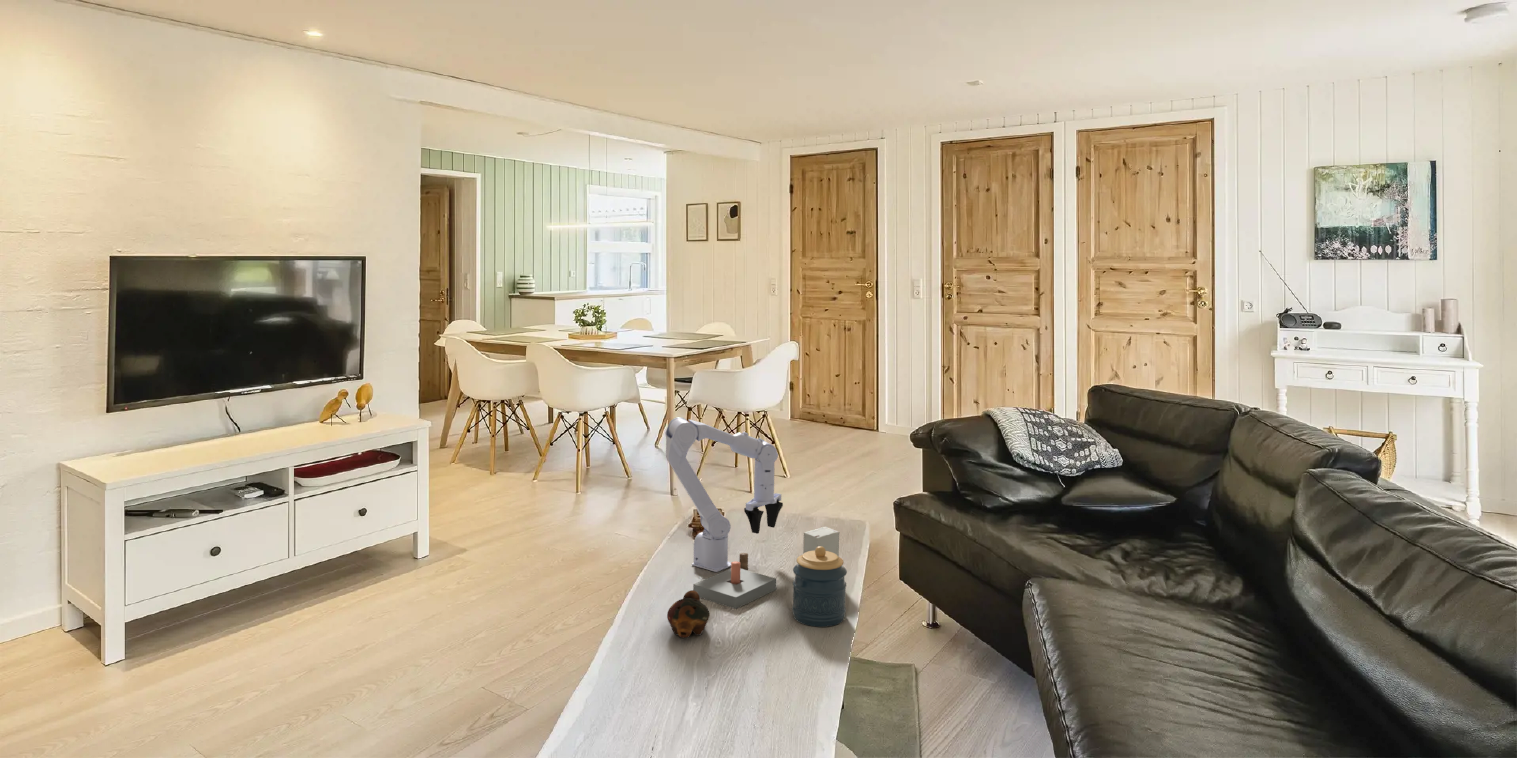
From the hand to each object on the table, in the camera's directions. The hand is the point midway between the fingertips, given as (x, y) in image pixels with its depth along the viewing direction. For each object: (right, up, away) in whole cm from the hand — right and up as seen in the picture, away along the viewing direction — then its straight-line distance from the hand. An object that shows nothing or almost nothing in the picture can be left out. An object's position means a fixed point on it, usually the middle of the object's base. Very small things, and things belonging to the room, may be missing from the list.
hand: (763, 529), depth 243 cm
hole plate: (-7, -12, -23) cm, 27 cm away
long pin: (-7, -12, -23) cm, 27 cm away
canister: (+13, -15, -38) cm, 43 cm away
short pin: (-6, -10, -6) cm, 13 cm away
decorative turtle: (-18, -15, -48) cm, 53 cm away
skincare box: (+15, -12, -17) cm, 25 cm away
